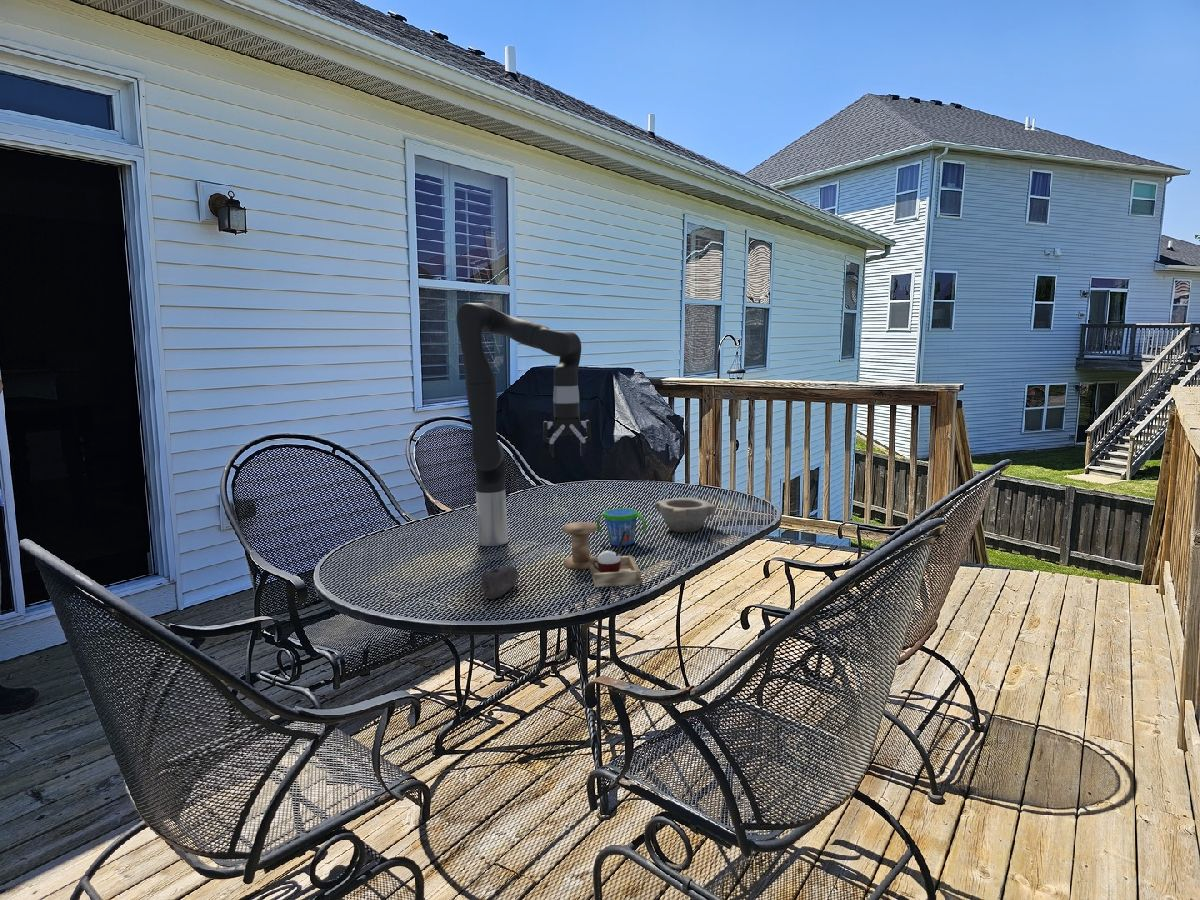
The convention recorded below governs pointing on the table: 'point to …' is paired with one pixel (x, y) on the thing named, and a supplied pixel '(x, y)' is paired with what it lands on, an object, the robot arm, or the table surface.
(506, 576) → the perforated stone tool
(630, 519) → the snack cup
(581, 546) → the tan spool shaped stand
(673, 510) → the mortar
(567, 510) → the table surface
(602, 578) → the shallow rimmed tray
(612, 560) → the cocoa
